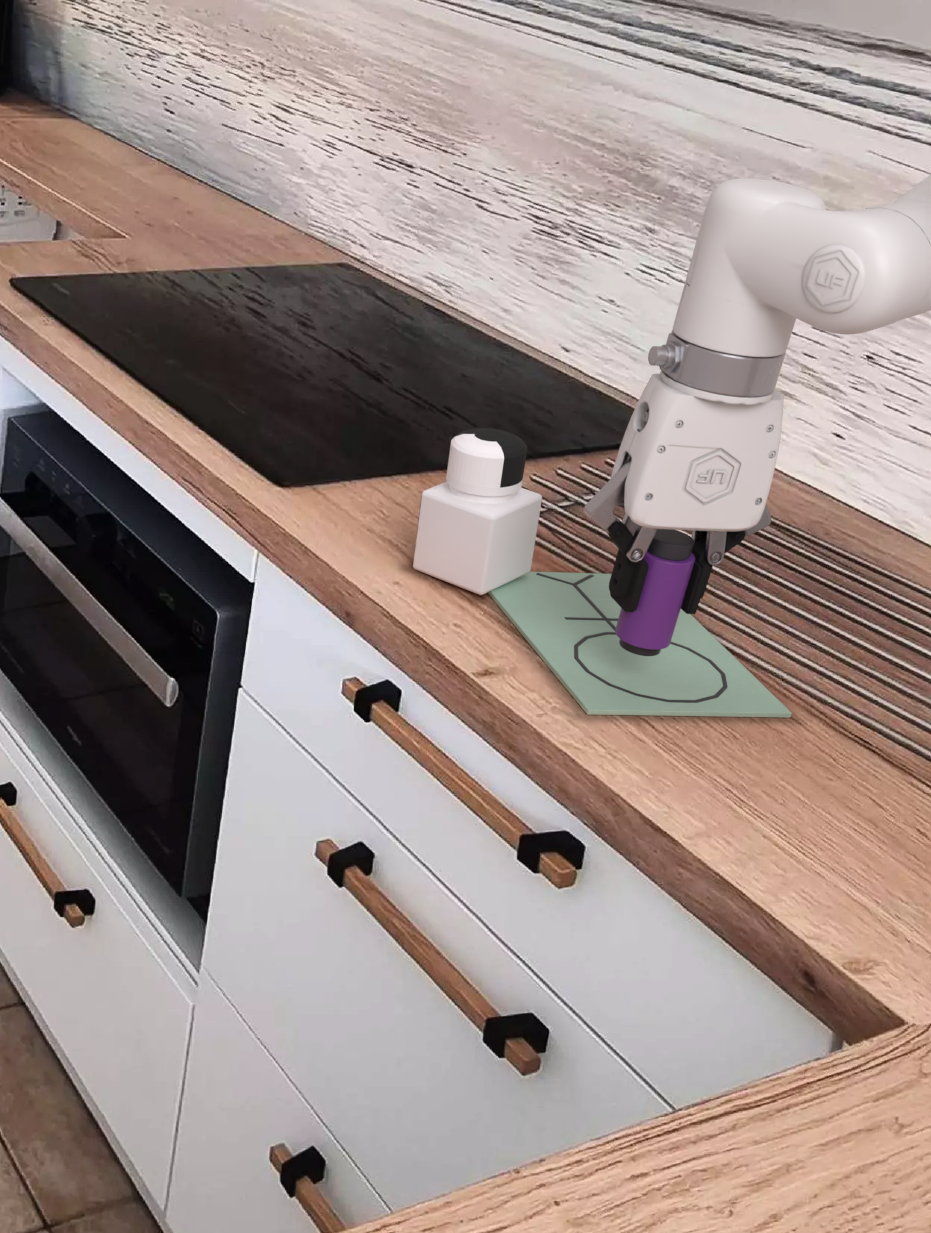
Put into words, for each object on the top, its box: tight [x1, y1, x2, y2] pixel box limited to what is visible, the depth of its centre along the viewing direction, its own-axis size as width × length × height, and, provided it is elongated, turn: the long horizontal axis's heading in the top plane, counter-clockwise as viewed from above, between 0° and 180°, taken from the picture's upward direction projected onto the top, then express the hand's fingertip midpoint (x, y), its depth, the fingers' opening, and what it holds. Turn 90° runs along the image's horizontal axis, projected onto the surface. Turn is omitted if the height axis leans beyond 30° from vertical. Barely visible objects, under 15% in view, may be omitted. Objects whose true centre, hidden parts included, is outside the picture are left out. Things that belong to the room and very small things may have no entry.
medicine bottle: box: [412, 427, 543, 596], centre depth 145 cm, size 7×7×12 cm
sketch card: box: [486, 571, 793, 719], centre depth 139 cm, size 24×16×1 cm, turn 8°
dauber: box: [615, 529, 695, 656], centre depth 129 cm, size 4×4×9 cm
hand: (652, 602), depth 129 cm, fingers closed on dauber, 4 cm apart
